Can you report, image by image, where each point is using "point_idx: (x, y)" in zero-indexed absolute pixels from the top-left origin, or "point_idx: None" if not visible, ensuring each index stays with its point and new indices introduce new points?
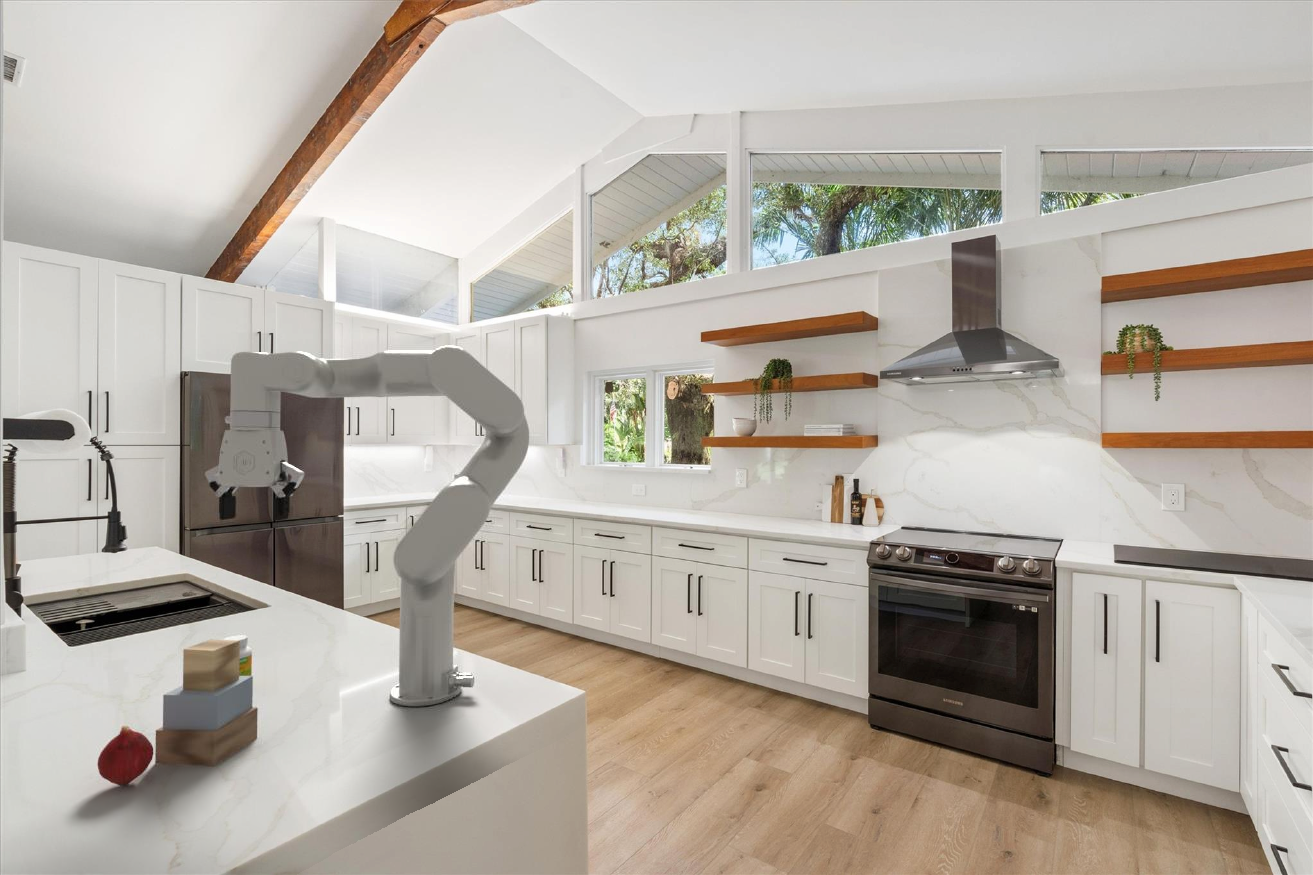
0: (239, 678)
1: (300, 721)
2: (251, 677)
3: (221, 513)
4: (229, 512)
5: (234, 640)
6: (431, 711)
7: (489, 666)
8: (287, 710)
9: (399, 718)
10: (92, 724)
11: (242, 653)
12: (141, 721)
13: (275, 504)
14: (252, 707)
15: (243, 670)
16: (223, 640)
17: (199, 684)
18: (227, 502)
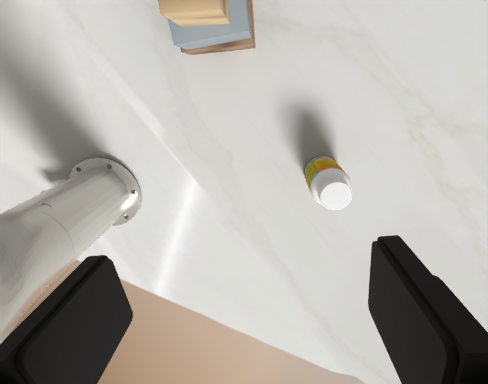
0: (184, 30)
1: (179, 104)
2: (174, 42)
3: (400, 253)
4: (383, 296)
5: (170, 12)
6: (70, 152)
7: None
8: (215, 128)
9: (87, 130)
10: (418, 47)
11: (314, 182)
12: (362, 68)
13: (40, 316)
14: (187, 50)
15: (309, 175)
16: (190, 7)
17: None
18: (418, 339)
